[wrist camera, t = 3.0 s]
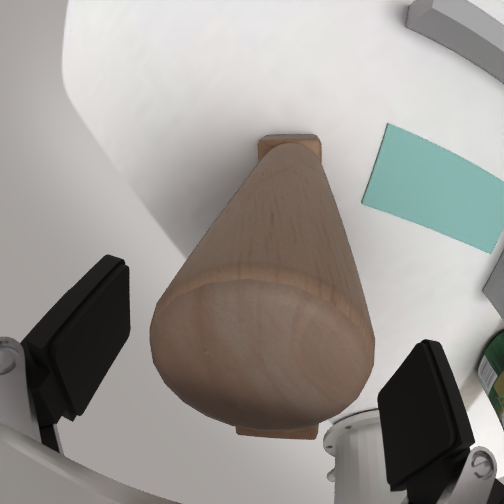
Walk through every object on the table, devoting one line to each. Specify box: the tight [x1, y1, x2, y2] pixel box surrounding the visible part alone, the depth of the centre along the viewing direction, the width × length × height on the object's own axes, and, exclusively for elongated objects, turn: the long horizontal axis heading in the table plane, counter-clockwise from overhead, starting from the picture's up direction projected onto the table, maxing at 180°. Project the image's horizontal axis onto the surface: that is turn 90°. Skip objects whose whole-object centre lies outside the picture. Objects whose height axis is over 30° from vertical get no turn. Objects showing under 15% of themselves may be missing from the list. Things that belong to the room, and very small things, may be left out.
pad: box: [362, 123, 504, 254], centre depth 19 cm, size 6×13×1 cm, turn 77°
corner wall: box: [405, 0, 504, 321], centre depth 15 cm, size 19×17×5 cm
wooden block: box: [150, 134, 375, 440], centre depth 14 cm, size 4×11×18 cm, turn 3°
